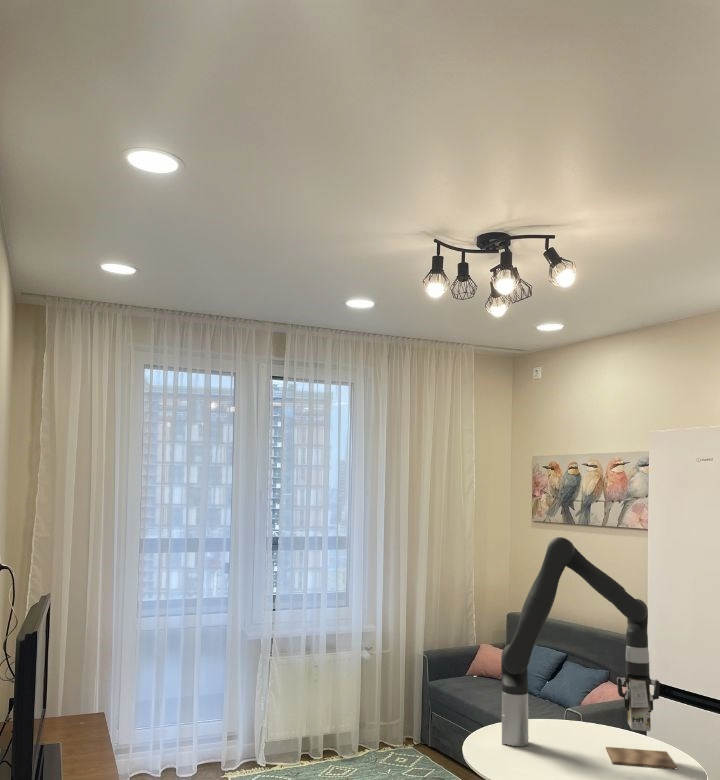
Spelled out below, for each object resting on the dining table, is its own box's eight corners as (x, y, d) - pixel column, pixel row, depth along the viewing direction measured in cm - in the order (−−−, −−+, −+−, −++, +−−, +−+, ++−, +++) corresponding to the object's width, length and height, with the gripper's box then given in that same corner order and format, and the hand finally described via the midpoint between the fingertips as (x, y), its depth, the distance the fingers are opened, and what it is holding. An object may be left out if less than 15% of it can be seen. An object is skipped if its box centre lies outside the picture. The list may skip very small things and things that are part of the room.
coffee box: (651, 731, 249) (650, 680, 251) (631, 730, 250) (629, 679, 253) (646, 723, 258) (645, 674, 260) (627, 722, 259) (625, 673, 261)
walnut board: (612, 763, 247) (612, 761, 247) (605, 749, 262) (605, 746, 262) (677, 769, 244) (676, 766, 244) (666, 754, 258) (666, 751, 258)
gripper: (617, 660, 255) (618, 712, 252) (662, 663, 252) (663, 715, 250) (613, 656, 262) (614, 706, 260) (657, 658, 260) (658, 709, 257)
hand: (638, 710), depth 255 cm, fingers closed on coffee box, 6 cm apart
